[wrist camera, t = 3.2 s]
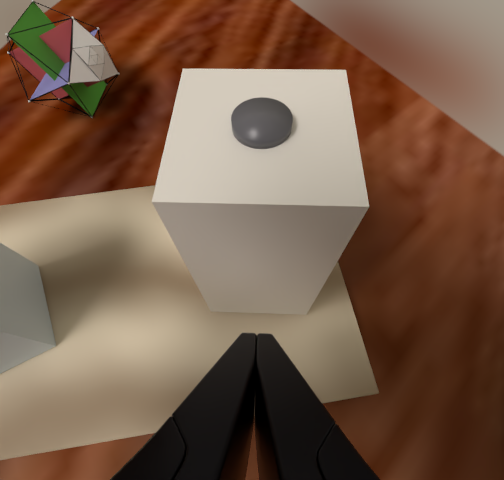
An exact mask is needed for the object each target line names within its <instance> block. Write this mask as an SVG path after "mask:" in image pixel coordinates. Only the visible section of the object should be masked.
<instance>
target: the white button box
mask: <svg viewBox="0 0 504 480" xmlns="http://www.w3.org/2000/svg"><path fill="white" fill-rule="evenodd" d="M152 203H153V205H154V207H155V209H156V211H157V213H158V214H159V216H160V218H161V220H162V222H163V224H164V226H165V227H166V229H167V231H168V233H169V235H170V237H171V239H172V240H173V242H174V244H175V246H176V248H177V250H178V252H179V253H180V255H181V257H182V259H183V261H184V263H185V264H186V266H187V268H188V270H189V272H190V274H191V276H192V277H193V279H194V281H195V283H196V285H197V287H198V289H199V290H200V292H201V294H202V296H203V298H204V300H205V302H206V303H207V305H208V307H209V309H210V311H211V312H238V313H267V314H296V315H307V313H308V311H309V309H310V308H311V306H312V304H313V302H314V301H315V299H316V297H317V296H318V294H319V292H320V290H321V289H322V287H323V285H324V284H325V282H326V280H327V278H328V277H329V275H330V273H331V272H332V270H333V268H334V266H335V265H336V263H337V261H338V260H339V258H340V256H341V254H342V253H343V251H344V249H345V248H346V246H347V244H348V242H349V241H350V239H351V237H352V236H353V234H354V232H355V230H356V229H357V227H358V225H359V224H360V222H361V220H362V218H363V217H364V215H365V213H366V212H367V210H368V208H369V202H368V196H367V190H366V185H365V179H364V173H363V167H362V161H361V155H360V150H359V144H358V138H357V132H356V126H355V121H354V115H353V109H352V103H351V97H350V91H349V86H348V80H347V74H346V70H291V69H183V71H182V75H181V79H180V83H179V88H178V92H177V96H176V100H175V105H174V109H173V113H172V118H171V122H170V126H169V130H168V135H167V139H166V143H165V147H164V152H163V156H162V160H161V164H160V169H159V173H158V177H157V181H156V186H155V190H154V194H153V198H152Z"/></svg>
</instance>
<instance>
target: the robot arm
mask: <svg viewBox="0 0 504 480" xmlns="http://www.w3.org/2000/svg"><path fill="white" fill-rule="evenodd" d="M254 408H255V437H256V449H257V461H258V473H259V480H380V479H379V477H378V476H377V475H376V474H375V473H374V472H373V470H372V469H371V468H370V467H369V466H368V464H367V463H366V462H365V461H364V460H363V458H362V457H361V456H360V454H359V453H358V452H357V450H356V449H355V448H354V446H353V445H352V444H351V443H350V441H349V440H348V439H347V437H346V436H345V434H344V433H343V432H342V430H341V429H340V427H339V426H338V425H337V424H335V421H334V419H333V418H332V416H331V415H330V414H329V412H328V411H327V410H326V408H325V407H324V405H323V404H322V403H321V401H320V400H319V398H318V397H317V396H316V394H315V393H314V391H313V390H312V389H311V387H310V386H309V385H308V383H307V382H306V380H305V379H304V378H303V376H302V375H301V373H300V372H299V371H298V369H297V368H296V366H295V365H294V364H293V362H292V361H291V360H290V358H289V357H288V355H287V354H286V353H285V351H284V350H283V348H282V347H281V346H280V344H279V343H278V341H277V340H276V339H275V337H274V336H273V335H272V334H268V333H259V334H257V335H256V334H255V333H241V334H240V335H239V336H238V338H237V339H236V340H235V341H234V342H233V343H232V345H231V346H230V347H229V348H228V349H227V350H226V352H225V353H224V354H223V355H222V356H221V357H220V359H219V360H218V361H217V362H216V363H215V364H214V366H213V367H212V368H211V369H210V370H209V371H208V373H207V374H206V375H205V376H204V377H203V378H202V380H201V381H200V382H199V383H198V384H197V385H196V387H195V388H194V389H193V390H192V391H191V392H190V394H189V395H188V396H187V397H186V398H185V399H184V401H183V402H182V403H181V404H180V405H179V406H178V408H177V409H176V410H175V411H174V412H173V413H172V416H170V417H169V418H168V419H167V420H166V421H165V423H164V424H163V425H162V426H161V427H160V428H159V430H158V431H157V432H156V433H155V434H154V435H153V436H152V437H151V438H150V439H149V441H148V442H147V443H146V444H145V445H144V446H143V447H142V448H141V449H140V450H139V451H138V452H137V453H136V454H135V455H134V456H133V457H132V458H131V459H130V460H129V461H128V462H127V463H126V464H125V465H124V466H123V467H122V468H121V469H120V470H119V471H118V472H117V473H116V474H115V475H114V476H113V477H112V478H111V479H110V480H245V477H246V471H247V464H248V458H249V451H250V445H251V438H252V432H253V424H254Z"/></svg>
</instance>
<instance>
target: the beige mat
mask: <svg viewBox="0 0 504 480" xmlns="http://www.w3.org/2000/svg"><path fill="white" fill-rule="evenodd" d="M155 186H156V185H155ZM155 186H147V187H140V188H132V189H125V190H117V191H109V192H102V193H94V194H86V195H79V196H71V197H63V198H56V199H48V200H40V201H33V202H25V203H17V204H10V205H2V206H0V243H2V244H3V245H5V246H7V247H8V248H10V249H12V250H13V251H15V252H17V253H18V254H20V255H22V256H23V257H25V258H27V259H28V260H30V261H32V262H33V263H35V264H36V265H38V266H39V271H40V275H41V279H42V284H43V288H44V293H45V297H46V302H47V306H48V311H49V315H50V320H51V324H52V329H53V333H54V338H55V342H56V346H55V347H53V348H51V349H49V350H47V351H45V352H43V353H41V354H39V355H37V356H35V357H33V358H31V359H29V360H27V361H25V362H23V363H21V364H19V365H17V366H15V367H13V368H11V369H9V370H7V371H5V372H3V373H1V374H0V460H3V459H9V458H15V457H20V456H26V455H32V454H38V453H43V452H49V451H55V450H60V449H66V448H72V447H77V446H83V445H89V444H94V443H100V442H106V441H111V440H117V439H123V438H128V437H134V436H140V435H145V434H151V433H156V432H157V431H158V430H159V428H160V427H161V426H162V425H163V424H164V423H165V421H166V420H167V419H168V418H169V417H170V416H172V413H173V412H174V411H175V410H176V409H177V408H178V406H179V405H180V404H181V403H182V402H183V401H184V399H185V398H186V397H187V396H188V395H189V394H190V392H191V391H192V390H193V389H194V388H195V387H196V385H197V384H198V383H199V382H200V381H201V380H202V378H203V377H204V376H205V375H206V374H207V373H208V371H209V370H210V369H211V368H212V367H213V366H214V364H215V363H216V362H217V361H218V360H219V359H220V357H221V356H222V355H223V354H224V353H225V352H226V350H227V349H228V348H229V347H230V346H231V345H232V343H233V342H234V341H235V340H236V339H237V338H238V336H239V335H240V334H241V333H255V334H256V335H257V334H259V333H268V334H272V335H273V336H274V337H275V339H276V340H277V341H278V343H279V344H280V346H281V347H282V348H283V350H284V351H285V353H286V354H287V355H288V357H289V358H290V360H291V361H292V362H293V364H294V365H295V366H296V368H297V369H298V371H299V372H300V373H301V375H302V376H303V378H304V379H305V380H306V382H307V383H308V385H309V386H310V387H311V389H312V390H313V391H314V393H315V394H316V396H317V397H318V398H319V400H320V401H321V403H327V402H333V401H339V400H344V399H350V398H356V397H361V396H367V395H373V394H378V393H379V391H378V388H377V384H376V381H375V378H374V375H373V372H372V368H371V365H370V362H369V359H368V356H367V352H366V349H365V346H364V343H363V340H362V336H361V333H360V330H359V327H358V324H357V320H356V317H355V314H354V311H353V308H352V304H351V301H350V298H349V295H348V292H347V288H346V285H345V282H344V279H343V276H342V272H341V269H340V266H339V263H338V261H337V263H336V265H335V266H334V268H333V270H332V272H331V273H330V275H329V277H328V278H327V280H326V282H325V284H324V285H323V287H322V289H321V290H320V292H319V294H318V296H317V297H316V299H315V301H314V302H313V304H312V306H311V308H310V309H309V311H308V313H307V315H296V314H267V313H238V312H211V311H210V309H209V307H208V305H207V303H206V302H205V300H204V298H203V296H202V294H201V292H200V290H199V289H198V287H197V285H196V283H195V281H194V279H193V277H192V276H191V274H190V272H189V270H188V268H187V266H186V264H185V263H184V261H183V259H182V257H181V255H180V253H179V252H178V250H177V248H176V246H175V244H174V242H173V240H172V239H171V237H170V235H169V233H168V231H167V229H166V227H165V226H164V224H163V222H162V220H161V218H160V216H159V214H158V213H157V211H156V209H155V207H154V205H153V203H152V198H153V194H154V190H155ZM254 415H255V408H254Z"/></svg>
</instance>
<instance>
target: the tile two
mask: <svg viewBox="0 0 504 480" xmlns="http://www.w3.org/2000/svg"><path fill="white" fill-rule="evenodd" d="M55 346H56V342H55V338H54V333H53V329H52V324H51V320H50V315H49V311H48V306H47V302H46V297H45V293H44V288H43V284H42V279H41V275H40V271H39V266H38V265H36V264H35V263H33V262H32V261H30V260H28V259H27V258H25V257H23V256H22V255H20V254H18V253H17V252H15V251H13V250H12V249H10V248H8V247H7V246H5V245H3V244H2V243H0V374H1V373H3V372H5V371H7V370H9V369H11V368H13V367H15V366H17V365H19V364H21V363H23V362H25V361H27V360H29V359H31V358H33V357H35V356H37V355H39V354H41V353H43V352H45V351H47V350H49V349H51V348H53V347H55Z"/></svg>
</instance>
